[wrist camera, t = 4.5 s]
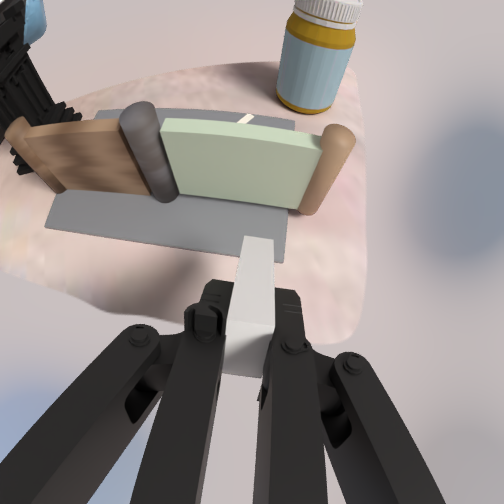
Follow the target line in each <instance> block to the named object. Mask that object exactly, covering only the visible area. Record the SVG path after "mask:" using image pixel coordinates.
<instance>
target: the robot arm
mask: <svg viewBox="0 0 504 504" xmlns="http://www.w3.org/2000/svg"><path fill="white" fill-rule="evenodd" d="M18 1H19V0H0V23H1V22H3V21H4V20H5V17H4V15H3V12H4V11H5V10H6V9H8V8H9V7H10V6H12V5H13V4H15V3H16V2H18ZM23 2H24V5H25V7H24V8H23V9H22V10H21V13H22V15H23V18H24V20H25V23H26V24H25V25H24V26H22V27H21V28H20V29H19V30H18V31H17V32H18V35H19V37H20V39H21V41H22V43H23V45H24V44H26V43H29V45H31V44H32V43H34V42H35V41H37V40H38V39H39V38H41V37H42V36H43V34H44V32H45V31H46V27H47V25H46V17H45V11H44V5H43V0H23ZM4 137H5V132H4V131H3V129H2V128H1V127H0V143H1V142H2V140H3V138H4ZM184 329H185V331H183V332H181V333H178V334H173V335H159V333H158V332H157V330H156V329H154V328H153V327H151V326H148V325H145V324H136V325H132V326H129V327H128V328H126V329H125V330H123V331H122V332H121V333H120V334H119V335H118V336H117V337H116V338H115V339H114V340H113V341H112V342H111V343H110V344H109V345H108V346H107V347H106V348H105V349H104V350H103V351H102V352H101V354H100V355H99V356H98V357H97V358H96V359H95V360H94V361H93V362H92V363H91V364H90V365H89V366H88V367H87V368H86V369H85V370H84V371H83V372H82V373H81V374H80V375H79V376H78V377H77V378H76V379H75V381H74V382H73V383H72V384H71V385H70V386H69V387H68V388H67V389H66V390H65V391H64V392H63V393H62V394H61V395H60V397H58V399H57V400H56V401H55V402H54V403H53V404H52V405H51V406H50V407H49V408H48V409H47V411H46V412H45V413H44V414H43V415H42V416H41V417H40V418H39V420H38V421H37V422H36V423H35V424H34V425H33V426H32V427H31V428H30V430H29V431H28V432H27V433H26V434H25V435H24V436H23V438H22V439H21V440H20V441H19V442H18V443H17V444H16V446H15V447H14V448H13V449H12V450H11V451H10V453H9V454H8V455H7V456H6V457H5V458H4V460H3V461H2V462H1V463H0V504H87V503H88V501H89V500H90V498H91V497H92V496H93V494H94V493H95V491H96V490H97V489H98V487H99V486H100V484H101V483H102V481H103V480H104V478H105V477H106V476H107V474H108V473H109V471H110V470H111V469H112V467H113V466H114V464H115V463H116V461H117V460H118V459H119V457H120V456H121V454H122V453H123V451H124V450H125V449H126V447H127V446H128V444H129V443H130V441H131V440H132V438H133V437H134V436H135V434H136V433H137V431H138V430H139V428H140V427H141V425H142V424H143V423H144V421H145V420H146V418H147V417H148V415H149V414H150V412H151V411H152V409H153V408H154V407H155V405H156V404H157V402H158V401H159V399H160V398H161V396H162V398H161V401H160V404H159V407H158V410H157V414H156V416H155V420H154V423H153V426H152V429H151V432H150V435H149V439H148V442H147V445H146V448H145V452H144V455H143V458H142V462H141V465H140V469H139V472H138V476H137V479H136V482H135V486H134V490H133V493H132V497H131V501H130V504H200V502H201V496H202V489H203V484H204V478H205V471H206V466H207V459H208V454H209V448H210V442H211V436H212V429H213V424H214V418H215V412H216V406H217V400H218V394H219V388H220V381H221V374H222V373H225V374H231V375H238V376H246V377H254V378H261V377H262V374H263V380H262V385H261V389H260V392H259V395H258V399H257V401H259V417H258V434H257V449H256V464H255V478H254V492H253V504H328V497H327V481H326V467H325V455H324V445H325V448H326V451H327V453H328V456H329V459H330V461H331V464H332V467H333V469H334V472H335V475H336V477H337V480H338V483H339V485H340V488H341V490H342V493H343V496H344V499H345V501H346V504H446V503H445V501H444V499H443V497H442V495H441V493H440V491H439V488H438V487H437V485H436V482H435V480H434V479H433V476H432V474H431V473H430V471H429V469H428V467H427V465H426V463H425V461H424V459H423V457H422V455H421V453H420V451H419V450H418V448H417V446H416V444H415V442H414V440H413V438H412V437H411V435H410V433H409V431H408V429H407V427H406V426H405V424H404V422H403V420H402V419H401V417H400V415H399V413H398V411H397V410H396V408H395V406H394V404H393V403H392V401H391V399H390V397H389V396H388V394H387V392H386V391H385V389H384V387H383V385H382V384H381V382H380V380H379V378H378V377H377V375H376V373H375V372H374V370H373V368H372V367H371V365H370V363H369V362H368V361H367V360H366V359H365V358H364V357H363V356H361V355H359V354H357V353H354V352H344V353H341V354H339V355H338V356H337V357H336V358H335V359H334V358H331V357H328V356H325V355H322V354H320V353H318V352H316V351H315V350H313V349H312V346H311V344H310V342H309V341H308V340H307V339H306V337H305V330H304V322H303V315H302V308H301V301H300V297H299V296H298V294H297V293H296V292H295V290H289V289H282V288H275V284H274V240H272V239H265V238H258V237H252V236H245V235H244V240H243V244H242V249H241V254H240V259H239V263H238V268H237V273H236V278H235V282H228V281H222V280H215V279H212V280H211V281H210V282H208V283H207V284H206V285H205V287H204V290H203V294H202V296H201V299H200V301H199V303H195V304H192V305H191V306H189V307H187V309H186V310H185V311H184Z"/></svg>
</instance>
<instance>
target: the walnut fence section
mask: <svg viewBox="0 0 504 504" xmlns="http://www.w3.org/2000/svg"><path fill="white" fill-rule="evenodd" d="M160 130H161V127H160V124H159V120H158V117H157V114H156V110H155V107H154V105H153V104H152V103H150V102H146V101H142V102H137V103H134V104H132V105H130V106H128V107H127V108H126V109H124V110H123V112H122V113H121V114H120V117H119V118H115V119H97V120H84V121H73V122H64V123H56V124H48V125H41V126H35V127H31V126H30V124H29V123H28V122H27V120H26V119H25V118H24V117H23V116H22V117H19V118H17V119H16V120H14V121H13V122H12V123H11V124H10V126H9V127H8V128H7V130H6V132H5V138H6V140H7V141H8V142H9V143H10V144H11V145H12V147H13V148H14V149H15V150H16V151H17V152H18V153H19V155H20V156H21V157H22V158H23V159H24V160H25V161H26V162H27V163H28V165H29V166H30V167H31V168H32V169H33V170H34V171H35V172H36V173H37V174H38V175H39V176H40V177H41V178H42V179H43V180H44V182H45V183H46V184H47V185H48V186H49V187H50V188H51V189H52V190H53V191H54V192H55V193H57V194H61V193H63V192H65V191H66V190H67V189H69V190H85V191H99V192H112V193H124V194H135V195H146V196H150V195H151V191H152V192H153V194H154V196H155V198H156V200H157V201H159V202H160V203H170V202H172V201H174V200H175V199H176V198H177V197H178V195H179V189H178V186H177V183H176V180H175V177H174V174H173V171H172V168H171V165H170V162H169V159H168V156H167V153H166V149H165V146H164V143H163V140H162V137H161V134H160Z"/></svg>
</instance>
